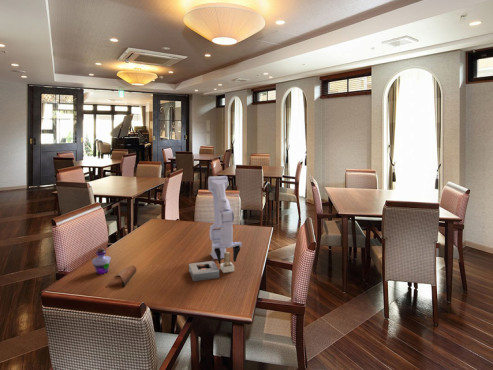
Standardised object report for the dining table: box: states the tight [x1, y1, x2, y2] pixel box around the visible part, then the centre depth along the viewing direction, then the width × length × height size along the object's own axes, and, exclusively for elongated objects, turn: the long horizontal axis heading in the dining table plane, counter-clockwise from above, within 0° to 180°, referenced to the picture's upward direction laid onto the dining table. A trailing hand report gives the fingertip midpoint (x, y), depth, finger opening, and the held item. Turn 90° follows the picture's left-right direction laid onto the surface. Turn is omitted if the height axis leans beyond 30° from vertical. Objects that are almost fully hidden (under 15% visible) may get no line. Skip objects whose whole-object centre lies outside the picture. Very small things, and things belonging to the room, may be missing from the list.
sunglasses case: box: [106, 264, 137, 289], centre depth 155 cm, size 18×7×7 cm
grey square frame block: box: [188, 260, 220, 282], centre depth 160 cm, size 12×12×4 cm
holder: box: [219, 261, 235, 274], centre depth 165 cm, size 6×6×3 cm
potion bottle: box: [91, 247, 112, 275], centre depth 163 cm, size 9×9×12 cm
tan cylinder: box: [223, 251, 231, 267], centre depth 165 cm, size 3×3×8 cm
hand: (227, 262), depth 165 cm, fingers open, 7 cm apart
